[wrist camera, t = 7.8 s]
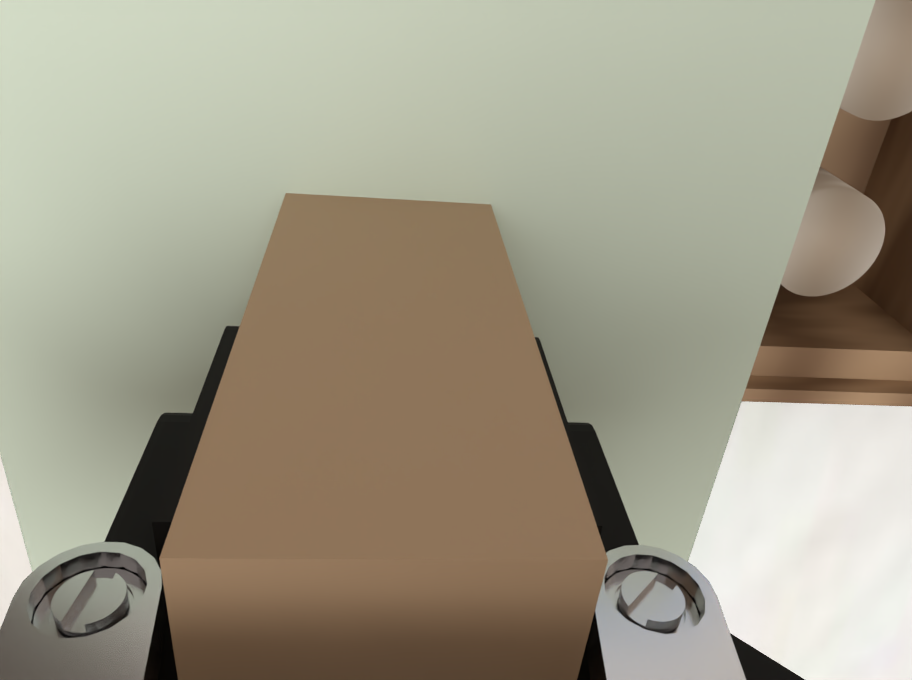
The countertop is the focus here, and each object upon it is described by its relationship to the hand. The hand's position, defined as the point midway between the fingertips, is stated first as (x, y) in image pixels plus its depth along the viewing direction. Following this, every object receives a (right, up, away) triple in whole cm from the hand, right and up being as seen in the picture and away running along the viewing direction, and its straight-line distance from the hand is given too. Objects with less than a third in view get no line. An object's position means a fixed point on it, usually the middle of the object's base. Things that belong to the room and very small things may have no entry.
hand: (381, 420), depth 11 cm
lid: (0, +1, +2) cm, 3 cm away
